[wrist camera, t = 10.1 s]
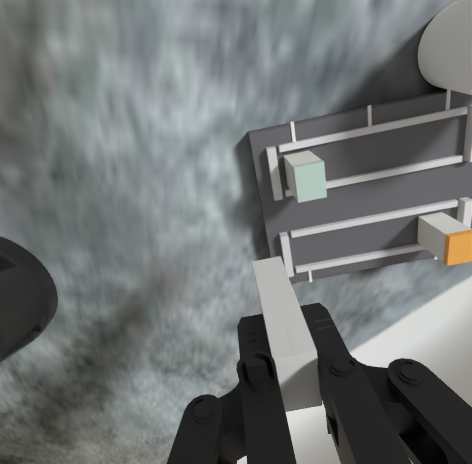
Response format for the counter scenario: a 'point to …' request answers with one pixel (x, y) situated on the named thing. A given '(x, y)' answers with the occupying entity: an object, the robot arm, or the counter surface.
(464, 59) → the cup
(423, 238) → the fader
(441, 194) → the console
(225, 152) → the counter surface
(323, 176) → the block
